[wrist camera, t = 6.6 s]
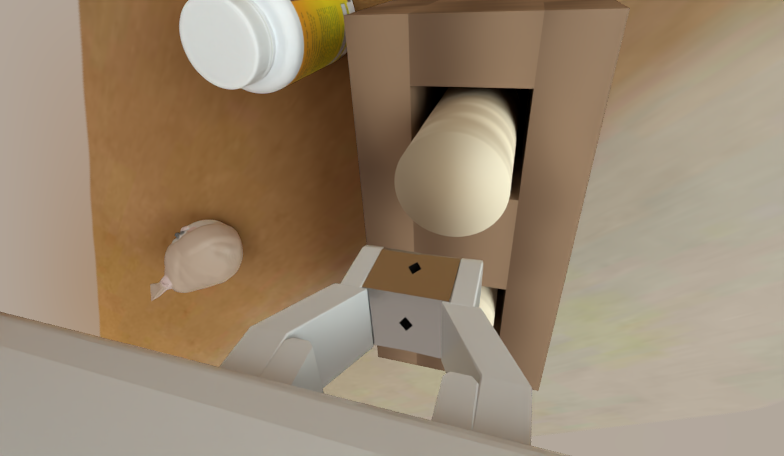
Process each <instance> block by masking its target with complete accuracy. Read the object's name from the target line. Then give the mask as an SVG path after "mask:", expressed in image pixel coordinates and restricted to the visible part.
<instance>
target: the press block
mask: <svg viewBox="0 0 784 456" xmlns="http://www.w3.org/2000/svg"><path fill="white" fill-rule="evenodd" d="M629 9H630V8H628V7H627V6H625V5H623V4H621V3H620V2H618V1H616V0H392V1H389V2H386V3H383V4H379V5H376V6H373V7H370V8H366V9H363V10H360V11H356V12H353V13H350V14H347V15H344V25H345V34H346V44H347V54H348V64H349V74H350V83H351V93H352V103H353V113H354V123H355V132H356V142H357V152H358V162H359V172H360V181H361V191H362V201H363V211H364V221H365V231H366V240H367V245H373V246H379V247H384V248H385V247H387V248H393V249H399V250H406V251H412V252H418V253H422V254H430V255H438V256H445V257H452V258H460V259H462V258H466V259H475V260H482V261H483V275H482V285H481V286H485V287H492V288H498V292H497V300H496V309H495V317H494V325H493V328H494V329H495V331H496V332H497V334H498V335H499V337H500V338H501V340H502V342H503V343H504V345H505V346H506V348H507V349H508V351H509V352H510V354H511V356H512V357H513V359H514V360H515V362H516V363H517V365H518V367H519V368H520V370H521V371H522V373H523V374H524V376H525V377H526V379H527V381H528V382H529V384H530V385H531V387H532V390H537V391H538V390H539V386H540V382H541V378H542V373H543V369H544V365H545V361H546V357H547V353H548V348H549V344H550V340H551V336H552V332H553V327H554V323H555V319H556V315H557V311H558V307H559V302H560V298H561V294H562V290H563V286H564V281H565V277H566V273H567V269H568V265H569V261H570V256H571V252H572V248H573V244H574V240H575V235H576V231H577V227H578V223H579V219H580V214H581V210H582V206H583V202H584V198H585V194H586V189H587V185H588V181H589V177H590V173H591V168H592V164H593V160H594V156H595V152H596V148H597V143H598V139H599V135H600V131H601V127H602V122H603V118H604V114H605V110H606V106H607V102H608V97H609V93H610V89H611V85H612V81H613V76H614V72H615V68H616V64H617V60H618V56H619V51H620V47H621V43H622V39H623V35H624V30H625V26H626V22H627V18H628V14H629ZM448 87H483V88H525V89H529V94H528V102H527V109H526V117H525V124H524V125H518V130H517V139H516V147H515V156H514V164H513V173H512V181H511V190H510V197H509V201H508V204H507V207H506V209H505V211H504V212H503V214H502V215H501V217H500V218H499V219H498V220H497V221H496V222H495V223H494V224H493V225H491V226H490V227H489V228H487V229H485V230H484V231H482V232H479V233H477V234H473V235H470V236H463V237H449V236H443V235H439V234H436V233H433V232H431V231H428V230H426V229H424V228H423V227H421V226H420V225H418V224H417V223H415V222H414V221H413V220H412V219H411V218H410V217H409V216H408V215H407V214H406V212H405V211H404V210H403V208H402V206H401V205H400V203H399V200H398V198H397V195H396V191H395V184H394V180H395V171H396V168H397V164H398V162H399V160H400V158H401V157H402V155H403V154H404V152H405V151H406V149H407V148H408V146H409V145H410V143H411V142H412V140H413V139H414V137H415V136H416V135H417V133H418V132H419V130H420V129H421V127H422V126H423V124H424V123H425V121H426V120H427V118H428V117H429V115H430V114H431V112H432V111H433V110H434V108H435V107H436V105H437V104H438V102H439V101H440V99H441V98H442V96H443V95H444V93H445V92H446V90H447V89H448ZM377 348H378V357H382V358H387V359H391V360H396V361H401V362H405V363H410V364H415V365H420V366H424V367H429V368H434V369H438V370H443V371H445V369H444V366H443V364H442V361H441V359H440V358H436V357H432V356H428V355H423V354H419V353H415V352H411V351H406V350H401V349H395V348H390V347H384V346H378V345H377Z"/></svg>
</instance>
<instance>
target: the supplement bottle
mask: <svg viewBox="0 0 784 456" xmlns="http://www.w3.org/2000/svg"><path fill="white" fill-rule="evenodd" d="M353 12H355V9H354V5H353V2H352V0H188V1H187V2H186V4H185V6H184V7H183V9H182V12H181V16H180V22H179V31H180V38H181V42H182V45H183V48H184V51H185V53H186V55H187V57H188V59H189V61H190V62H191V64H192V65H193V67H194V68H195V69H196V70H197V72H198V73H199V74H200V75H201V76H203V77H204V78H205V79H206V80H207V81H209V82H210V83H212V84H214V85H216V86H218V87H221V88H224V89H239V88H241V89H244V90H246V91H249V92H253V93H259V94H266V93H272V92H275V91H278V90H280V89H282V88H284V87H287V86H288V85H290V84H292V83H294V82H296V81H298V80H300V79H302V78H304V77H306V76H308V75H310V74H312V73H314V72H316V71H317V70H319V69H321V68H323V67H325V66H327V65H329V64H331V63H333V62H335V61H337V60H338V59H340V58H341V57H342V56H343V55H344V54H345V53H346V52H347V44H346V34H345V25H344V15H347V14H350V13H353Z"/></svg>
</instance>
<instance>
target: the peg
mask: <svg viewBox="0 0 784 456" xmlns="http://www.w3.org/2000/svg"><path fill="white" fill-rule="evenodd" d="M519 113H520V101H519V96H518V94H517V91H516V89H515V88H483V87H448V89H447V90H446V92H445V93H444V95H443V96H442V98H441V99H440V101H439V102H438V104H437V105H436V107H435V108H434V110H433V111H432V112H431V114H430V115H429V117H428V118H427V120H426V121H425V123H424V124H423V126H422V127H421V129H420V130H419V132H418V133H417V135H416V136H415V137H414V139H413V140H412V142H411V143H410V145H409V146H408V148H407V149H406V151H405V152H404V154H403V155H402V157H401V158H400V160H399V162H398V164H397V168H396V171H395V180H394V184H395V191H396V195H397V198H398V200H399V203H400V205H401V206H402V208H403V210H404V211H405V212H406V214H407V215H408V216H409V217H410V218H411V219H412V220H413V221H414V222H415V223H417V224H418V225H420V226H421V227H423V228H424V229H426V230H428V231H431V232H433V233H436V234H439V235H443V236H449V237H463V236H470V235H473V234H477V233H479V232H482V231H484V230H485V229H487V228H489V227H490V226H491V225H493V224H494V223H495V222H496V221H497V220H498V219H499V218H500V217H501V215H502V214H503V212H504V211H505V209H506V207H507V204H508V201H509V197H510V190H511V181H512V173H513V164H514V156H515V147H516V139H517V130H518V122H519Z"/></svg>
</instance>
